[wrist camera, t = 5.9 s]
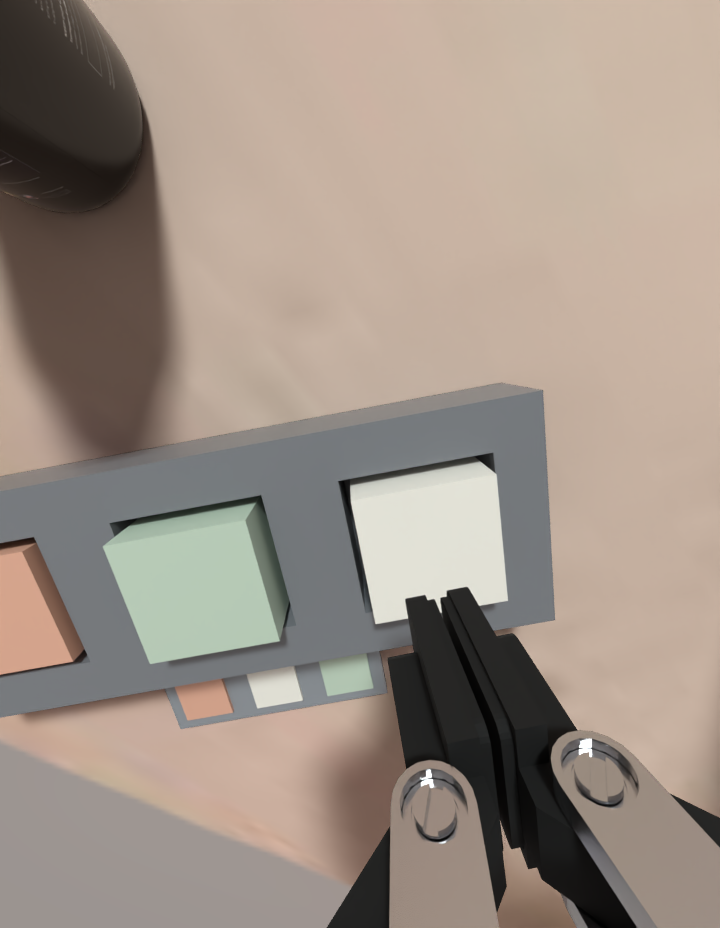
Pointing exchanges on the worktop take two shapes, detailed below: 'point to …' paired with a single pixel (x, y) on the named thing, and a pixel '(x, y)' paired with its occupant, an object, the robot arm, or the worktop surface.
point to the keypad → (274, 532)
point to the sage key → (201, 579)
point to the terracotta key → (32, 612)
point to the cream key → (429, 534)
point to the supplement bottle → (64, 107)
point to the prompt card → (278, 690)
